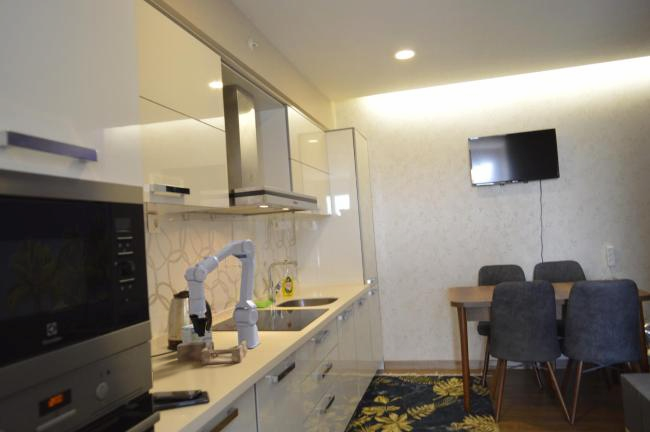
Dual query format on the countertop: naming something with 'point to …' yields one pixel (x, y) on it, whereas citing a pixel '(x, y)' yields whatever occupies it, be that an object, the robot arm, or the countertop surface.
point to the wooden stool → (223, 354)
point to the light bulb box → (195, 335)
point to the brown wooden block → (190, 351)
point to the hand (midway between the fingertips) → (199, 334)
